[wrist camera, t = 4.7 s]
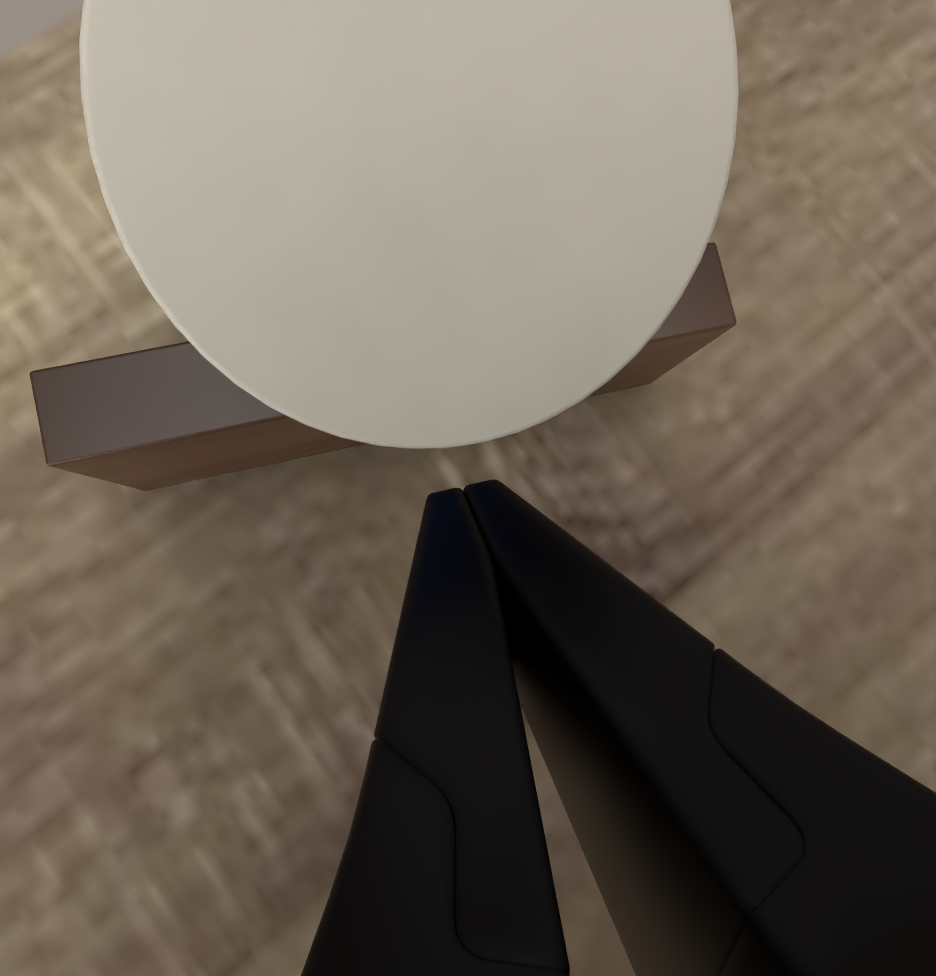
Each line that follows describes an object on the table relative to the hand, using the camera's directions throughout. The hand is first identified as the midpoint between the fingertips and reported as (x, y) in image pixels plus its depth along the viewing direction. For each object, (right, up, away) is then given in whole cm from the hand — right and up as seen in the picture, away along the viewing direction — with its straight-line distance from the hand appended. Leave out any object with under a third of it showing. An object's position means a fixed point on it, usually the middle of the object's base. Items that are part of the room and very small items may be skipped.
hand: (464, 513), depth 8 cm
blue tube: (-2, +4, +8) cm, 9 cm away
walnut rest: (-2, +2, +8) cm, 8 cm away
